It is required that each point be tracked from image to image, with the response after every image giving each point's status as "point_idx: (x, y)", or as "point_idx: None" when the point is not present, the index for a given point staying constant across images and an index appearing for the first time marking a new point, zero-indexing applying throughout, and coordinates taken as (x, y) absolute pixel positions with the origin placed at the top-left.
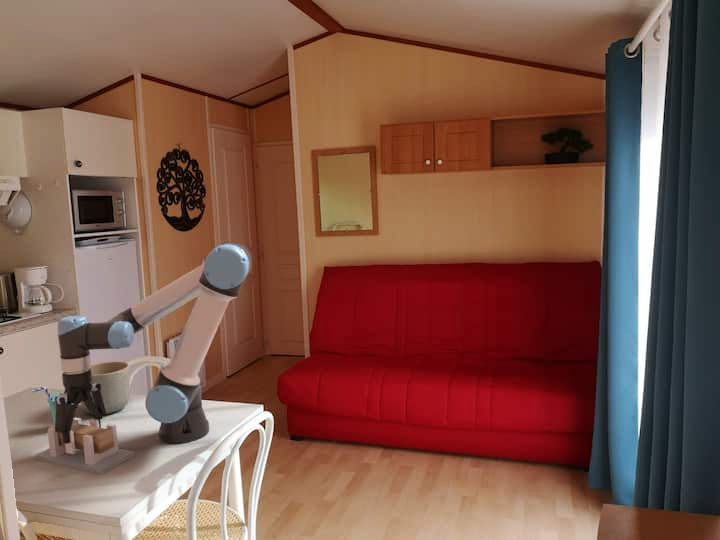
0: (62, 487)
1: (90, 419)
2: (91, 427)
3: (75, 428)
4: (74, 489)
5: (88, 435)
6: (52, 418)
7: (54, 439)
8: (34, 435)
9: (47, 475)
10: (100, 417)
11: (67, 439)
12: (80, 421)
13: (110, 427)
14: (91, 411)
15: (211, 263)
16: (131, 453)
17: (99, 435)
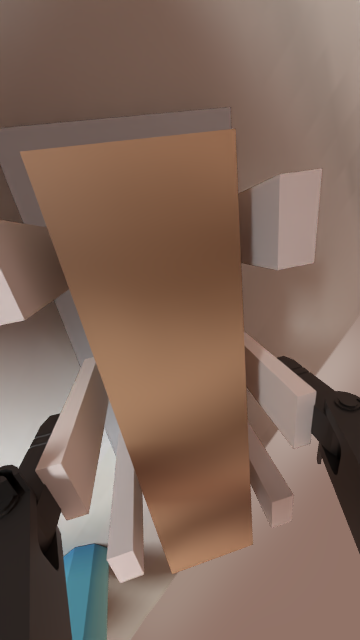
0: (346, 174)
1: (84, 512)
2: (134, 405)
3: (204, 459)
4: (350, 102)
5: (287, 228)
6: (107, 610)
7: (263, 447)
8: (158, 550)
9: (296, 312)
10: (2, 490)
11: (297, 370)
12: (115, 534)
13: (8, 259)
14: (54, 630)
15: None
16: (10, 128)
17: (207, 156)
